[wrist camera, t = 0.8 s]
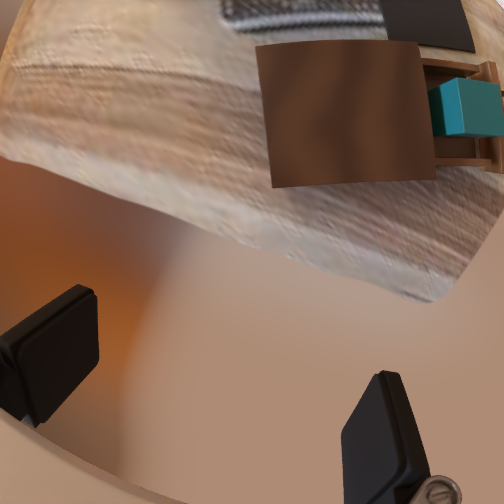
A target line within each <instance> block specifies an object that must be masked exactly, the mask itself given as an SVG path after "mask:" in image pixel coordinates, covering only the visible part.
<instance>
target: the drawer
mask: <svg viewBox="0 0 504 504" xmlns="http://www.w3.org/2000/svg"><path fill="white" fill-rule="evenodd" d="M421 61H422V66H423V71H424V76H425V82H426V87H427V91H429V90H431V89H433V88H435V87H437V86H439V85H442V84H444V83H446V82H448V81H450V80H452V79H454V78H465V79H466V78H467V77H469V76H470V78H471V79H472V80H478V81H484V82H490V83H496V84H499V89H500V95H501V101H502V108H503V115H504V106H503V100H502V97H504V91H501V88H500V82H499V77H498V72H497V68H496V63H495V62H490V61H487V62H484V63H482V64H480V65H473V64H467V63H460V62H454V61H446V60H438V59H428V58H421ZM433 142H434V154H435V166H481V171H487V172H493V173H500V174H504V137H484V138H479V145H480V158H476V154H475V141H474V138H450V137H433Z"/></svg>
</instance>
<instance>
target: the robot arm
mask: <svg viewBox="0 0 504 504" xmlns="http://www.w3.org/2000/svg"><path fill="white" fill-rule="evenodd" d="M97 315H98V313H97V296H96V295H94V291H93V290H92V289H90V288H87V287H85V286H82V285H80V284H77V285H75V286H74V287H72V288H71V289H69V290H67V291H66V292H64V293H63V294H61V295H60V296H58V297H57V298H56V299H54V300H52V301H51V302H49V303H48V304H46V305H45V306H43V307H42V308H40V309H39V310H37V311H36V312H34V313H33V314H31V315H30V316H28V317H27V318H26V319H24V320H23V321H21V322H20V323H18V324H17V325H16V326H14V327H13V328H11V329H10V330H8V331H7V332H5V333H4V334H3V335H1V336H0V504H186V503H183V502H180V501H177V500H174V499H171V498H168V497H166V496H163V495H160V494H157V493H155V492H152V491H149V490H146V489H144V488H142V487H139V486H137V485H134V484H132V483H130V482H127V481H125V480H123V479H120V478H118V477H116V476H114V475H112V474H110V473H108V472H105V471H103V470H101V469H99V468H97V467H95V466H93V465H91V464H89V463H87V462H86V461H84V460H82V459H80V458H78V457H76V456H74V455H73V454H71V453H69V452H67V451H66V450H64V449H62V448H60V447H58V446H57V445H55V444H54V443H52V442H50V441H49V440H47V439H45V438H44V437H42V436H41V435H39V434H38V433H36V432H35V431H33V430H32V429H30V428H28V427H27V426H26V425H24V424H23V423H21V422H20V421H21V420H22V419H24V421H25V422H27V423H28V424H30V425H31V426H33V427H34V428H36V427H37V426H38V425H39V424H40V423H45V422H46V421H47V420H48V419H49V418H50V417H51V415H52V414H53V413H54V412H55V411H56V410H57V409H58V408H59V406H60V405H61V404H62V403H63V402H64V401H65V400H66V399H67V397H68V396H69V395H70V394H71V393H72V392H73V391H74V390H75V389H76V387H77V386H78V385H79V384H80V383H81V382H82V381H83V380H84V379H85V378H86V376H87V375H88V374H89V373H90V372H91V371H92V370H93V369H94V368H95V367H96V365H97V364H98V361H99V342H98V318H97V317H98V316H97ZM341 446H342V462H343V463H342V464H343V486H344V504H461V502H462V493H461V490H460V488H459V486H458V485H457V484H456V483H455V482H454V481H453V480H452V479H450V478H448V477H446V476H441V475H435V476H431V474H430V468H429V465H428V461H427V458H426V454H425V451H424V447H423V444H422V441H421V437H420V434H419V431H418V428H417V424H416V421H415V418H414V415H413V412H412V409H411V406H410V403H409V400H408V397H407V394H406V391H405V388H404V385H403V383H402V380H401V377H400V375H399V373H396V372H390V371H384V370H383V371H381V372H380V373H379V374H375V375H374V376H373V377H372V379H371V381H370V383H369V385H368V386H367V388H366V390H365V392H364V394H363V395H362V397H361V399H360V401H359V402H358V404H357V406H356V408H355V409H354V411H353V413H352V414H351V416H350V418H349V419H348V421H347V423H346V425H345V426H344V428H343V430H342V433H341Z"/></svg>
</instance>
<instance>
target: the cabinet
mask: <svg viewBox="0 0 504 504" xmlns="http://www.w3.org/2000/svg"><path fill="white" fill-rule="evenodd" d="M255 52H256V60H257V67H258V75H259V82H260V90H261V98H262V106H263V114H264V122H265V130H266V139H267V147H268V156H269V165H270V174H271V183H272V188H284V187H296V186H308V185H322V184H338V183H355V182H376V181H404V180H436V170H435V154H434V142H433V132H432V123H431V115H430V107H429V100H428V94H427V87H426V82H425V76H424V71H423V66H422V61H421V56H420V51H419V47H418V43H417V42H406V41H391V40H319V41H303V42H291V43H281V44H272V45H264V46H256V47H255Z"/></svg>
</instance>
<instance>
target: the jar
mask: <svg viewBox="0 0 504 504" xmlns="http://www.w3.org/2000/svg"><path fill="white" fill-rule="evenodd" d="M496 1H497V2H498V3H499V5H500V6H501V7H502V8H503V9H504V0H496Z"/></svg>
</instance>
